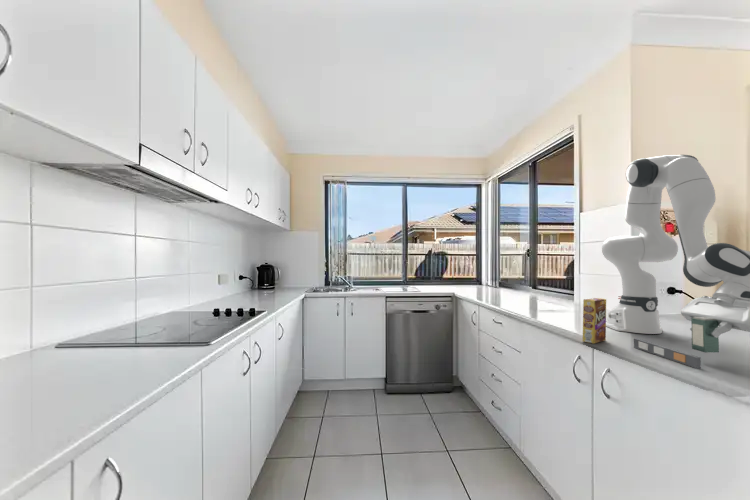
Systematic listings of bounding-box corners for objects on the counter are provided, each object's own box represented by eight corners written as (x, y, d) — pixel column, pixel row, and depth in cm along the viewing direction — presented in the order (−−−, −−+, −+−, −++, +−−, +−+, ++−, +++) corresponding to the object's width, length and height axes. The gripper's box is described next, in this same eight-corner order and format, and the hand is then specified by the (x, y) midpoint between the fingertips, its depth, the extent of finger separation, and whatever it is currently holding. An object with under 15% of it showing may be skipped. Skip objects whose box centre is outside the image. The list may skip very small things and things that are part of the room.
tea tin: (691, 348, 104) (690, 316, 104) (705, 348, 104) (704, 316, 104) (704, 352, 100) (704, 319, 100) (718, 352, 100) (718, 319, 100)
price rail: (633, 347, 119) (633, 338, 119) (637, 347, 119) (637, 338, 119) (695, 368, 97) (695, 357, 97) (700, 368, 97) (700, 357, 97)
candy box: (595, 344, 123) (594, 300, 123) (582, 341, 127) (581, 299, 127) (607, 340, 128) (606, 298, 128) (594, 338, 131) (594, 297, 132)
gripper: (693, 288, 113) (664, 319, 112) (766, 295, 92) (732, 333, 92) (706, 302, 113) (677, 333, 112) (783, 312, 93) (748, 350, 92)
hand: (702, 333), depth 102 cm, fingers closed on tea tin, 4 cm apart
